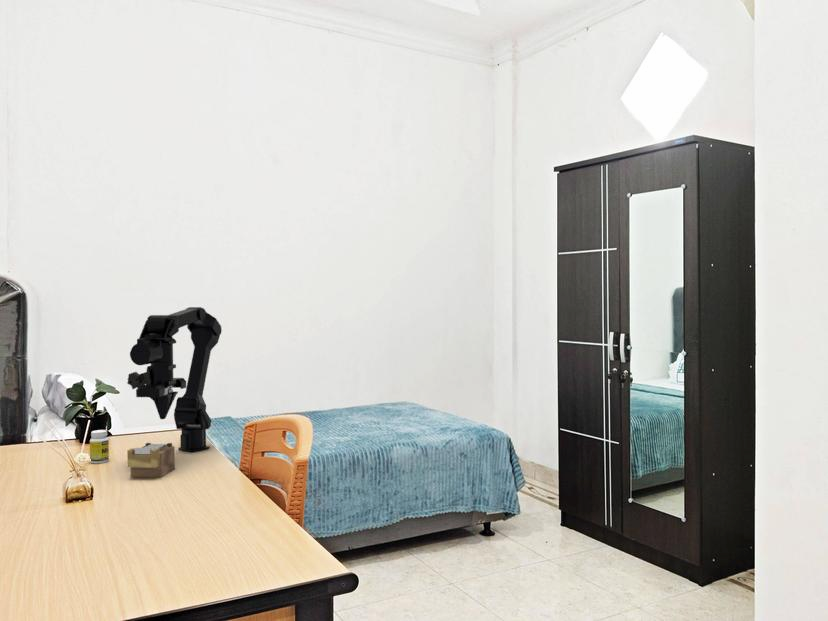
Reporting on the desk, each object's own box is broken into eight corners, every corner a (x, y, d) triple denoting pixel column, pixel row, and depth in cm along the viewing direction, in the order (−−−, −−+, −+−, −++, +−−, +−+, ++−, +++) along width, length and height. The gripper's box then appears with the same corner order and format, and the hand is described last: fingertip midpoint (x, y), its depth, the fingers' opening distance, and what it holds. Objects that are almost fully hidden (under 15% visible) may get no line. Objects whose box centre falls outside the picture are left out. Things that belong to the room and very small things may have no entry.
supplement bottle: (103, 463, 185) (103, 432, 185) (86, 463, 185) (86, 433, 185) (112, 459, 190) (111, 429, 190) (95, 459, 190) (94, 429, 190)
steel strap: (151, 445, 179) (151, 440, 179) (166, 446, 179) (166, 440, 179) (134, 454, 170) (134, 448, 170) (150, 454, 170) (150, 448, 170)
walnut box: (145, 468, 180) (144, 441, 180) (174, 468, 179) (174, 441, 179) (126, 479, 170) (125, 450, 169) (157, 479, 169) (157, 450, 169)
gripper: (148, 358, 195) (149, 412, 195) (115, 365, 176) (116, 425, 176) (186, 358, 194) (187, 413, 194) (158, 365, 175) (158, 425, 176)
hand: (162, 419), depth 185 cm, fingers closed
